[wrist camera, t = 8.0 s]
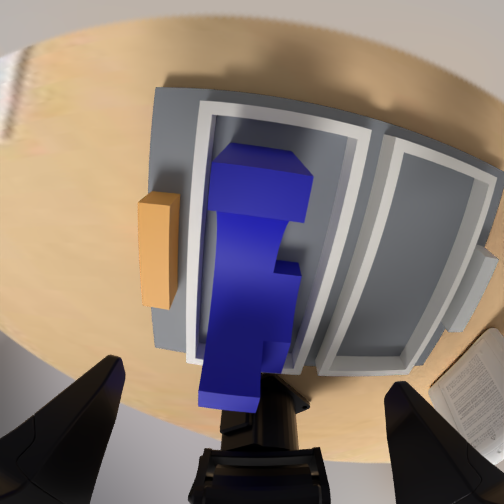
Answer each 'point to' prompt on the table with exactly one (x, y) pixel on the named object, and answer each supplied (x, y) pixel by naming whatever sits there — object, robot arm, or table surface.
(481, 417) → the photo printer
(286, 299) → the blue curved cradle
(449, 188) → the dock board
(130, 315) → the table surface
